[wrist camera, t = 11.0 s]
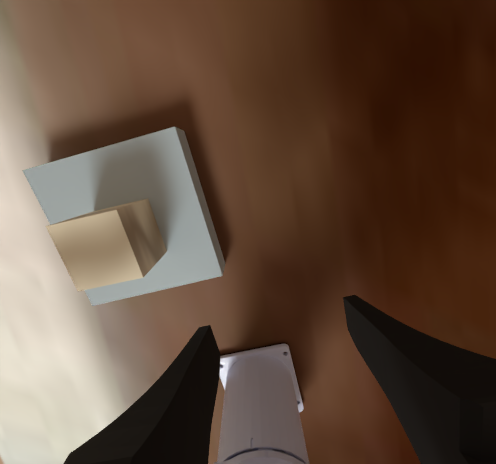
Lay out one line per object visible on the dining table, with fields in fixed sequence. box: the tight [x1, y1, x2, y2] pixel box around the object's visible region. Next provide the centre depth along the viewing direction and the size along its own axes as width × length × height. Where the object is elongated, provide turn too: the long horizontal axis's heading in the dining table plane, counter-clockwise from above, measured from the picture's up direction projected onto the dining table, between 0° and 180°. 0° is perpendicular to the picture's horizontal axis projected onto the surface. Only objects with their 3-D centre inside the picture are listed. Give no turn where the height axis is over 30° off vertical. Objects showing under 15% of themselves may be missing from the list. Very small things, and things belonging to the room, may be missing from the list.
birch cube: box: [46, 198, 167, 291], centre depth 17 cm, size 4×4×4 cm
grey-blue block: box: [23, 127, 225, 306], centre depth 20 cm, size 12×12×3 cm
